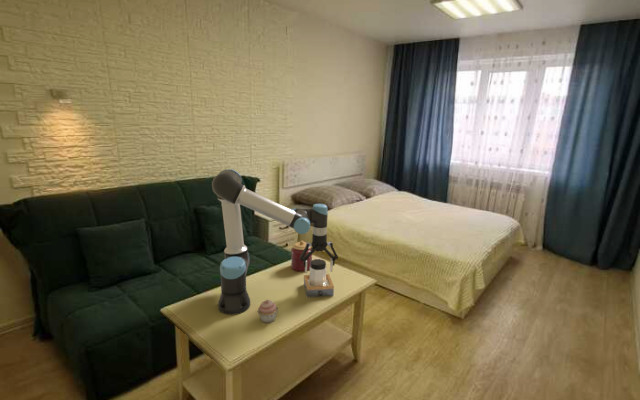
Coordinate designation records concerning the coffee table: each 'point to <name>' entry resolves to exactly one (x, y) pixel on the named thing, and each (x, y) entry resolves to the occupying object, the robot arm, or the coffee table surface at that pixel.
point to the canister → (296, 254)
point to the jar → (317, 272)
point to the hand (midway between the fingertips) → (318, 271)
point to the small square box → (318, 288)
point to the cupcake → (267, 311)
